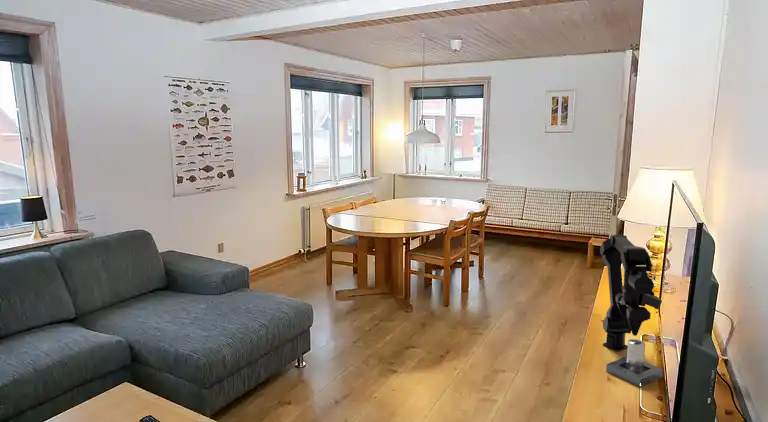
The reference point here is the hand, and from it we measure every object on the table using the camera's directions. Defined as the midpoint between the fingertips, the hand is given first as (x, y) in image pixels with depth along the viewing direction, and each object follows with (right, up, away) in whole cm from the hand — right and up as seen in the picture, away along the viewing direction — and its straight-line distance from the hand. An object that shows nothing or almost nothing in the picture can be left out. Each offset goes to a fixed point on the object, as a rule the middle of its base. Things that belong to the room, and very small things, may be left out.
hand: (630, 330), depth 163 cm
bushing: (0, -14, -3) cm, 14 cm away
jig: (0, -14, -3) cm, 14 cm away
